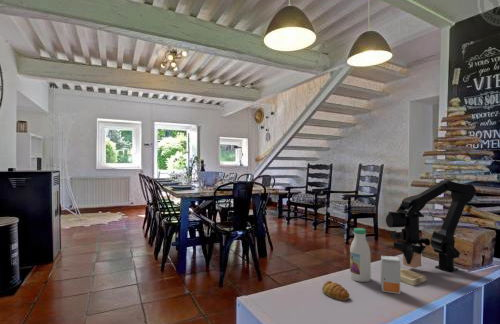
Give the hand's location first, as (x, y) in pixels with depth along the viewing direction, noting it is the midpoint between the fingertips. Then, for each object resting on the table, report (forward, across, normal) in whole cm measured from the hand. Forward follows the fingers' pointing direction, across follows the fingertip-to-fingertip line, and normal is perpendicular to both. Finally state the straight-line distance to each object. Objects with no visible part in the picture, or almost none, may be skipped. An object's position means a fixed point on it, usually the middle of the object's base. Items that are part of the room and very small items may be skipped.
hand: (412, 262), depth 122 cm
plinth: (+3, +12, +5) cm, 13 cm away
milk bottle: (+3, +28, -5) cm, 29 cm away
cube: (+1, 0, 0) cm, 1 cm away
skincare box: (+3, +28, +8) cm, 29 cm away
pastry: (+4, +47, 0) cm, 47 cm away
